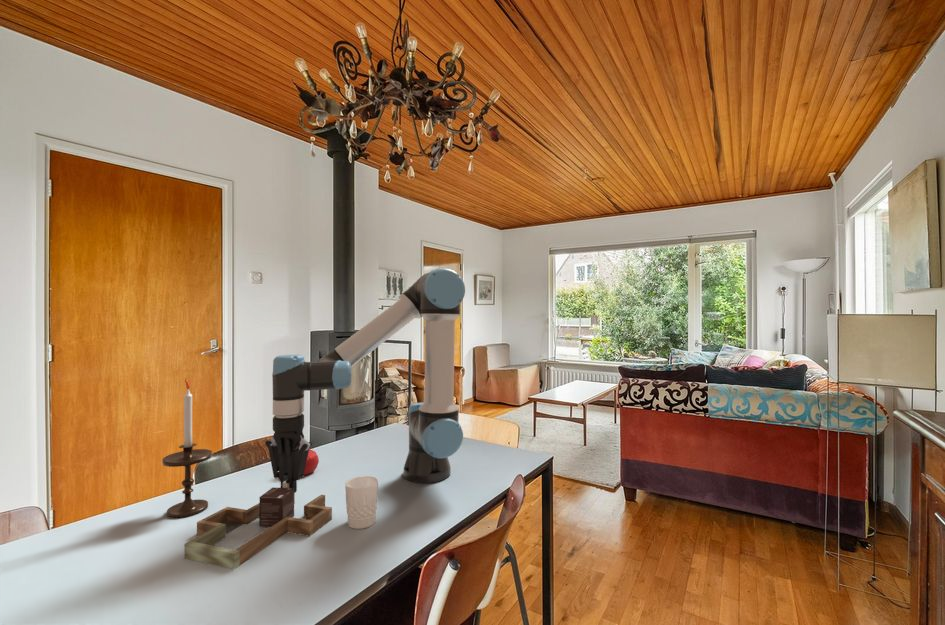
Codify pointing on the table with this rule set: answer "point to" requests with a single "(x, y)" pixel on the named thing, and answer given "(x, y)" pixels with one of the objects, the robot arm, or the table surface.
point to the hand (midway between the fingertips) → (288, 505)
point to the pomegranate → (311, 462)
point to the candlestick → (187, 465)
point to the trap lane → (231, 518)
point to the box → (276, 506)
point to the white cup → (361, 501)
